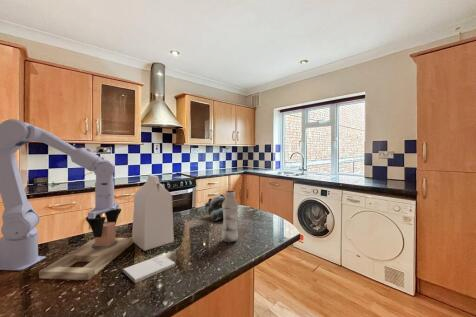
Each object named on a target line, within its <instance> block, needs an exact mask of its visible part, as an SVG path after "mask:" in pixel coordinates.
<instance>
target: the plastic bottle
mask: <svg viewBox="0 0 476 317" xmlns="http://www.w3.org/2000/svg"><path fill="white" fill-rule="evenodd" d="M225 197H226V198H225V200H224V201H223V203H222V209H223V218H222V219H223V220H222V229H221V239H222V240H223V241H224V242H226V243H233V242H235V241H237V240H238V237H239V236H238V235H239V233H238V232H239V231H238V223H237V222H238V221H237V220H238V210H239V202H238V200H237V199H236V191H235V190H226V191H225Z"/></svg>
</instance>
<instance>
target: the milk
mask: <svg viewBox="0 0 476 317" xmlns="http://www.w3.org/2000/svg"><path fill="white" fill-rule="evenodd" d="M173 215H174V212H173V196H172V194H171V193H170V191H169V190H168V189H166V188H165V186H164V185H163V183H160V178H159V176H158V175H154V174H148V175H147V180H146V182H145V183H144V184H143V185H142V186H141V187H140V188H139V189H138V190H137V191H136V192H135V194H134V197H133V214H132V232H131V238H133V243H134V244H135V245H137V246H138V247H139V248H140V249H142V250H143V251H148V250H152V249H155V248H158V247H161V246H165V245H167V244H171V243H174V242H175V240H174V217H173Z"/></svg>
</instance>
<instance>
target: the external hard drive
mask: <svg viewBox="0 0 476 317" xmlns="http://www.w3.org/2000/svg"><path fill="white" fill-rule="evenodd" d="M175 266H176V262H175V261H173V260H172V259H170V258H168V257H167V256H165V255H164V254H161V255H158V256H155V257H152V258H150V259H146V260H144V261H141V262H138V263H135V264H133V265H130V266H128V267H125V268H122V273H124V274H125V276H127V277H128V278H129V279H130V280H131V281H132V282H133V283H134V284H137V283H140V282H141V281H144V280H146V279H147V278H151V277H153V276H155V275H157V274H159V273H161V272H165V271H167V270H169V269H171V268H173V267H175Z"/></svg>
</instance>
